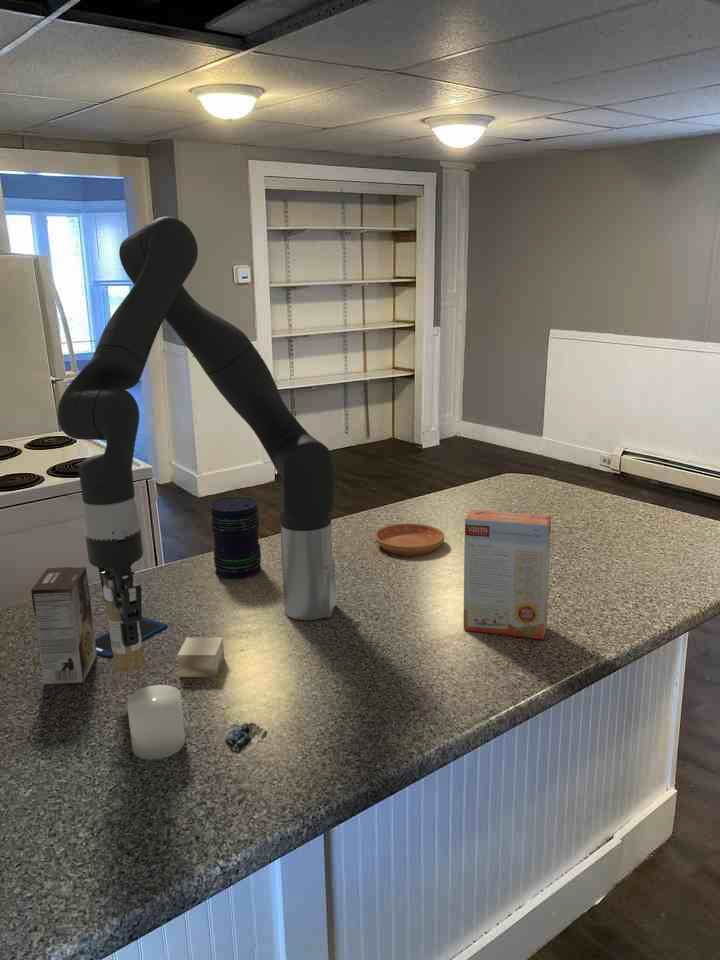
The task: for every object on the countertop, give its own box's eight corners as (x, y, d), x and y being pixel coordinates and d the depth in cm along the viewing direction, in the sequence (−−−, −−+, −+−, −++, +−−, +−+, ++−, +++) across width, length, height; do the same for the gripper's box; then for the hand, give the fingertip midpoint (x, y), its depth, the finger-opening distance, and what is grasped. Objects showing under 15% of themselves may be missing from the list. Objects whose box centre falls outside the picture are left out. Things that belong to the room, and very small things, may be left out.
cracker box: (547, 626, 139) (552, 514, 133) (543, 641, 133) (549, 525, 128) (469, 616, 143) (471, 507, 138) (462, 630, 138) (464, 517, 132)
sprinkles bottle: (149, 668, 116) (139, 584, 113) (118, 677, 114) (108, 592, 110) (139, 656, 120) (129, 574, 116) (109, 665, 118) (98, 582, 114)
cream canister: (192, 731, 109) (188, 686, 108) (174, 761, 103) (169, 714, 101) (144, 727, 110) (139, 683, 109) (123, 757, 104) (118, 711, 102)
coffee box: (58, 657, 131) (46, 567, 127) (98, 655, 131) (87, 565, 127) (42, 685, 122) (28, 589, 118) (84, 683, 123) (72, 587, 118)
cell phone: (79, 650, 134) (79, 646, 134) (141, 619, 145) (140, 615, 145) (109, 660, 130) (108, 656, 130) (169, 628, 142) (169, 624, 141)
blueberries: (269, 726, 111) (268, 714, 110) (265, 761, 103) (264, 749, 103) (221, 728, 111) (220, 716, 110) (213, 763, 103) (212, 751, 102)
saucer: (456, 541, 182) (456, 529, 182) (423, 563, 170) (423, 550, 169) (396, 530, 191) (396, 519, 190) (361, 550, 178) (361, 538, 177)
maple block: (224, 659, 130) (222, 637, 129) (216, 677, 124) (215, 655, 123) (188, 659, 130) (186, 637, 129) (179, 677, 124) (177, 655, 123)
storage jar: (205, 576, 164) (200, 508, 160) (230, 560, 173) (225, 495, 169) (247, 582, 160) (242, 513, 157) (270, 565, 169) (266, 499, 165)
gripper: (73, 520, 115) (87, 627, 119) (99, 548, 103) (114, 665, 108) (124, 511, 119) (136, 614, 123) (155, 536, 107) (166, 649, 112)
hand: (125, 637), depth 116 cm, fingers closed on sprinkles bottle, 4 cm apart
